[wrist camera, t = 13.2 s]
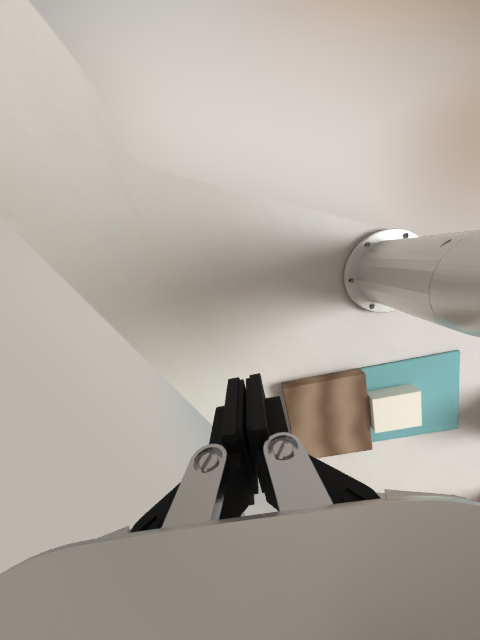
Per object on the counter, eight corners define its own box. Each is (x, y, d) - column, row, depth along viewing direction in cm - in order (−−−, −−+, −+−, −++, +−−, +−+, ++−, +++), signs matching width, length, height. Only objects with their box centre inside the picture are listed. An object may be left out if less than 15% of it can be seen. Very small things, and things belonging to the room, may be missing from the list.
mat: (457, 350, 39) (459, 351, 39) (455, 426, 44) (457, 428, 43) (357, 368, 41) (358, 369, 40) (364, 441, 45) (365, 443, 44)
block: (411, 383, 41) (421, 391, 39) (412, 416, 43) (421, 425, 40) (365, 391, 41) (372, 399, 39) (368, 423, 43) (375, 433, 41)
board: (359, 368, 41) (365, 373, 39) (366, 441, 45) (372, 449, 43) (281, 382, 42) (283, 388, 40) (295, 452, 46) (297, 461, 44)
